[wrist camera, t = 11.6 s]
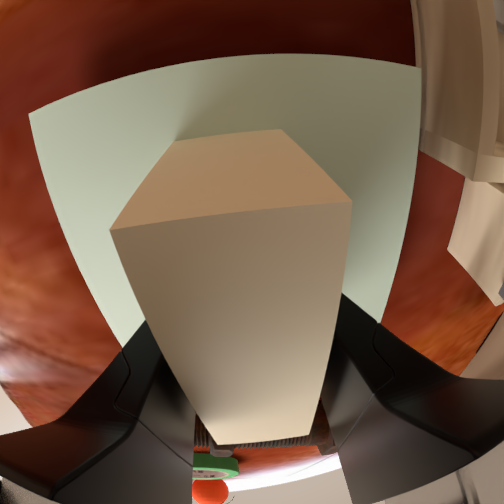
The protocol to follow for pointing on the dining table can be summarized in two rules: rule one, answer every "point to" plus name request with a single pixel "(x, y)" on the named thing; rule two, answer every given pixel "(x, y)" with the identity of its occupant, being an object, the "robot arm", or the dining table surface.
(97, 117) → the lid
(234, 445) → the bolt
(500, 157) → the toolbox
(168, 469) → the robot arm
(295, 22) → the dining table surface
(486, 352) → the key
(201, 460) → the tape roll
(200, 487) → the clementine
